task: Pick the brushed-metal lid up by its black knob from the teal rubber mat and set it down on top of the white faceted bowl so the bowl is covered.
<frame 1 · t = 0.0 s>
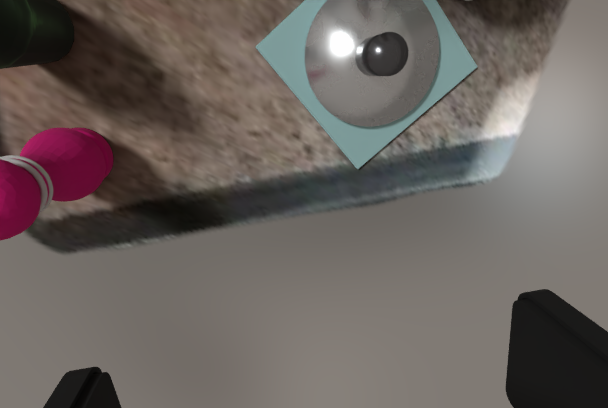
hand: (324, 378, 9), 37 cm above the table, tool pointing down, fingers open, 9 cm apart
teal mat: (370, 57, 42), on the table
potion bottle: (41, 28, 38), on the table
pepper mill: (84, 155, 42), on the table
metal lid: (371, 57, 42), resting on teal mat
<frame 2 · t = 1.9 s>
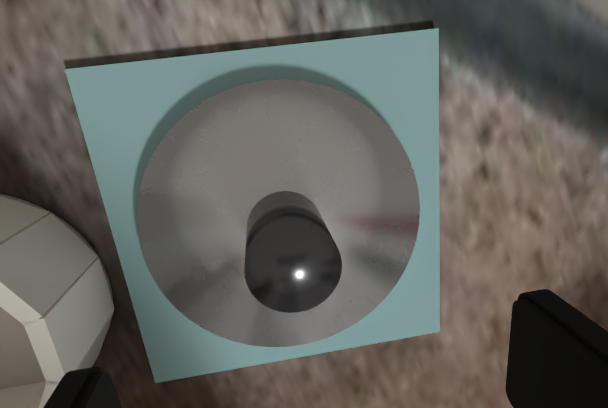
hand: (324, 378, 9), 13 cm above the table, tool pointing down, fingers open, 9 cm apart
teal mat: (283, 219, 21), on the table
metal lid: (283, 222, 21), resting on teal mat
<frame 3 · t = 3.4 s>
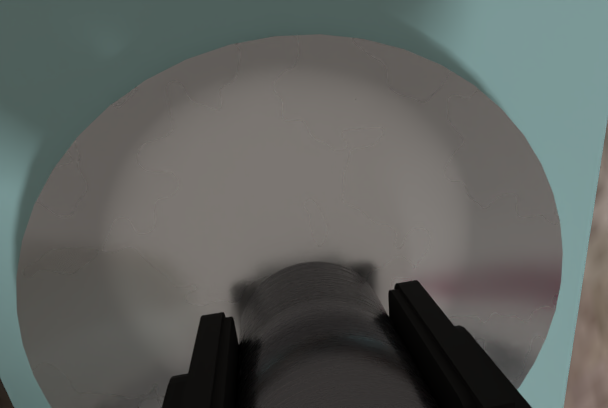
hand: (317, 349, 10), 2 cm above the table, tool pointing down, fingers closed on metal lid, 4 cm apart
teal mat: (306, 301, 12), on the table
metal lid: (308, 309, 11), resting on teal mat, touching gripper
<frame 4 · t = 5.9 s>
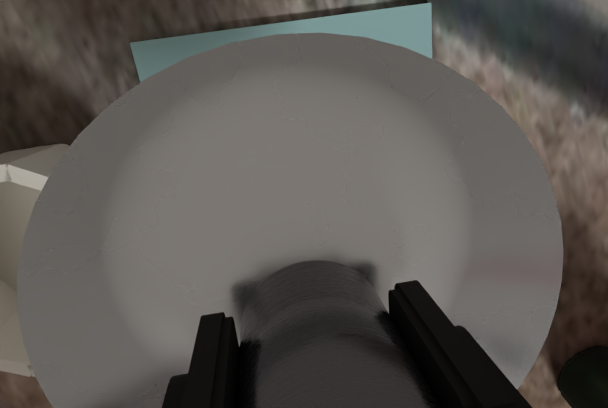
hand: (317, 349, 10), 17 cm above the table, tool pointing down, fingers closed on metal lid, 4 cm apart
teal mat: (304, 167, 26), on the table
potion bottle: (587, 371, 36), on the table
white faceted bowl: (72, 234, 25), on the table
metal lid: (308, 308, 11), point 15 cm above the table, touching gripper
when the fingers open (9 cm above the table, at t = 8.5 s): metal lid drops 1 cm, resting on white faceted bowl.
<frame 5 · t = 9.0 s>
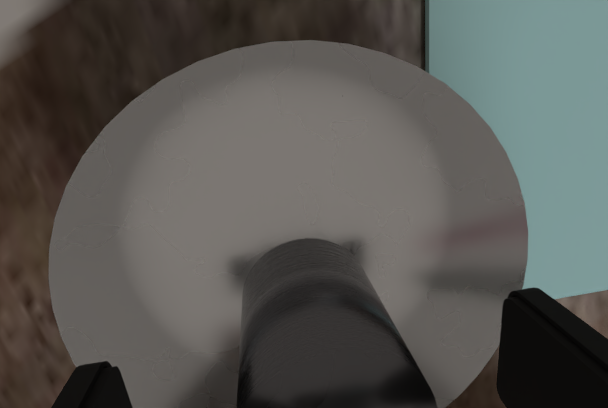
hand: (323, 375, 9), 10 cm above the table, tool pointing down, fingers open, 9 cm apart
teal mat: (597, 136, 19), on the table
metal lid: (303, 283, 13), point 6 cm above the table, touching white faceted bowl
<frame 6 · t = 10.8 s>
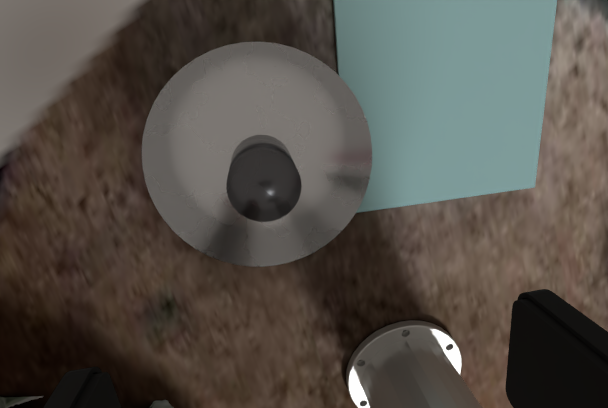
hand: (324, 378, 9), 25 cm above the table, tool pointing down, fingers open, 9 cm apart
teal mat: (444, 99, 32), on the table
metal lid: (261, 162, 26), point 6 cm above the table, touching white faceted bowl
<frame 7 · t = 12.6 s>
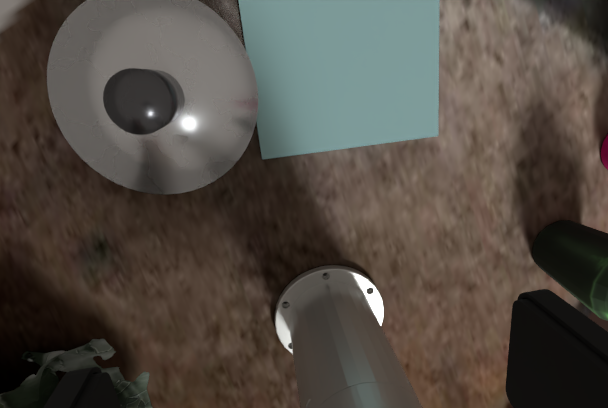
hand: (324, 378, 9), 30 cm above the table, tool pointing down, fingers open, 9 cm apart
teal mat: (344, 51, 35), on the table
potion bottle: (555, 244, 45), on the table
metal lid: (159, 97, 29), point 6 cm above the table, touching white faceted bowl
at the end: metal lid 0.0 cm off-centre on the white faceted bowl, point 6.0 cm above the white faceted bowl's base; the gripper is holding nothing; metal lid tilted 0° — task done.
